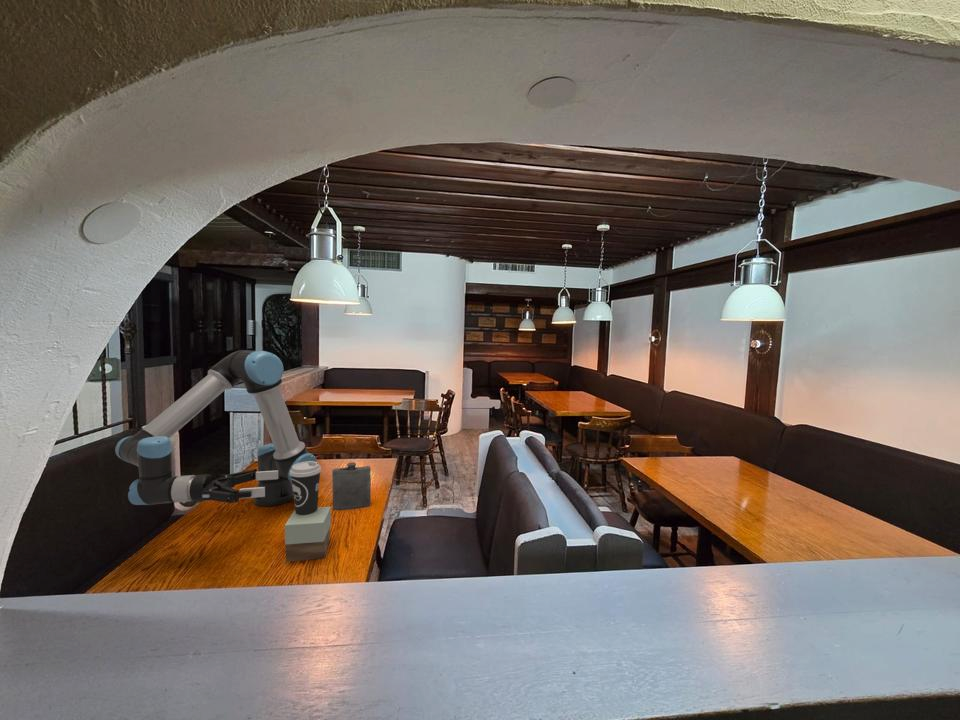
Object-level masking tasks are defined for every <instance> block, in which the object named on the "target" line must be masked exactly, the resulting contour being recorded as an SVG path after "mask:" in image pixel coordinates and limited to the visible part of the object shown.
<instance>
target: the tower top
mask: <svg viewBox="0 0 960 720" xmlns="http://www.w3.org/2000/svg"><path fill="white" fill-rule="evenodd" d="M331 525H332V506H321V507H317V511H315V512H314V513H311V514H308V515H298V514H296V512H295V509H294V510H293V512H292V513H291V515H290V517H289V518H288V520H287V521H286V523H285V524H284V545H286V544H299V543H312V542H324V540H325V537H326V535H327V533H328V530H329V528H330V529H331Z"/></svg>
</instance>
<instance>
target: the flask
mask: <svg viewBox="0 0 960 720" xmlns="http://www.w3.org/2000/svg"><path fill="white" fill-rule="evenodd" d="M356 465H357V463H356V462H348V463H347V464H346V466H347V467H346V466H345V467H340V468H339V467H338V468H337V467H336V468H333V469H332V472H331V473H332V510H333V509H334V510H333V511H346V510H356V509H357V510H358V509H363V508H369V507H371V506H372V505H371V502H372V498H371V497H372V495H371V494H372V493H371V491H372V490H371V485H372V484H371V470H372V469H371V466H369V465H364V466H356Z"/></svg>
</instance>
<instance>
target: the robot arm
mask: <svg viewBox="0 0 960 720" xmlns="http://www.w3.org/2000/svg"><path fill="white" fill-rule="evenodd" d="M284 370H285V369H284V365H283V362H282V360H281V358H280V357H278V356H277V355H276V354H274V353H272V352H269V351H266V350H250V349H249V350H248V349H242V350H241V349H240V350H239V349H238V350H237V351H234V352H232V353H230V354H227V356H225V357H224V358H222V359H221V360H220V361H218V362H217V363H215V364H214V365H213V366H211V368H209V370H207V375H206V376H205V377H203V378H202V379H201V380H200V381H199V382H197V383H196V384H195V385H193V386H192V387H191V388H190V389H189V390H188V391H187V392H185V393H184V394H183V395H182V396H181V397H180V398H178V399H176V401H174V402H172V404H170V405H169V406H168V407H167V408H166V409H164V411H162V412H161V413H160V414H159V415H157V416H156V417H154V419H152V420H151V421H150V422H149V423H148V424H146V425H145V426H144V427H143V428H141V429H140V430H139V431H138V432H136V433H135V434H134V435H130V436H126V437H123V438H121V439H120V440H119V441H118V442H117V444H116V445H115V447H114V448H115V449H114V450H115V451H114V452H115V455H116V456H117V457H118V458H119V459H121V460H122V461H123V462H125V463H128V464H132V465H134V466H135V467H138V474H139V476H138V478H137V479H135V480H134V481H132V483H131V484H130V485H129V488H128V489H129V491H128V493H127V498H128V501H129V502H130V504H132V505H134V506H136V505H137V506H141V505H142V506H152V505H160V504H161V505H163V504H171V503H172V504H173V503H174V504H175V503H181V504H186V503H187V502H192V501H193V502H203V501H214V502H220V503H221V502H222V503H227V504H233V503H239V502H240V500H241V499H253V503H254V504H255V505H256V506H259V507H274V506H278V505H282V504H285V503H287V502H290V501H292V500H294V495H293V487H292V479H291V476H290V475H289V473H290V470H291V469H292V466H293V465H295V464H297V463H300V462H306V461H314V462H318V460H317V457H316V456H315V455H314V454H312V453H310V452H308V448H307V446H306V444H305V442H304V441H300V440H299V438H298V434H297V432H296V429H295V426H294V424H293V420H292V417H291V416H290V413H289V409H288V407H287V405H286V402H285V399H284V396H283V394H282V390H281V388H280V387H281V385H282V384H283V380H282V377H283V374H284ZM241 383H243V385H244V387H245V389H246V392H247V393H248V394H249V395H253V396H254V399H255V402H256V404H257V406H258V409H259V411H260V413H261V417H262V419H263V421H264V424H265V427H266V429H267V432H268V434H269V436H270V437H269V438H271V442H272V443H266V444H264V445H263V444H262V445H261V446H260V447H258V449H257V455H256V457H257V468H253V469H249V470H244V471H238V472H233V473H228V474H227V473H226V474H222V475H220V477H219V478H217V479H215V478H214V477H213V476H212V474H197V475H195V474H192V475H191V474H190V475H177V476H174V475H173V460H172V459H173V458H172V455H173V454H172V450H173V449H172V443H171V438H172V437H173V436H175V434H177V432H179V431H180V430H181V429H182V428H183V427H184V426H186V425H187V424H188V423H189V422H190V421H191V420H192V419H193V418H195V417H196V416H197V415H198V414H200V413H201V411H203V410H204V409H205V408H207V406H209V404H211V403H213V401H214V400H215V399H216V398H217V397H219V396H220V395H221V394H223V393H224V391H226V390H232V389H233V388H234V387H235V386H236V385H238V384H241ZM251 481H255V482H257V481H258V482H257V486H256V487H246V488H244V487H243V488H240V489H239V490H238V489H235V488H234V487H235V486H236V485H237V486H238V485H242V484H244V483H248V482H251ZM291 499H292V500H291Z"/></svg>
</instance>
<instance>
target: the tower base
mask: <svg viewBox="0 0 960 720" xmlns="http://www.w3.org/2000/svg"><path fill="white" fill-rule="evenodd" d="M330 529H331V527H330V528H329V530H328V533H327V535H326V537H325V540H324V542H312V543H299V544H285V563H290V562H289V561H293V562H301V560H302V561H308V560H310V559H311V560H317V559H326V555H327V551H328V548H329V544H330V541H329V540H331V534H330V533H331V530H330Z"/></svg>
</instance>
